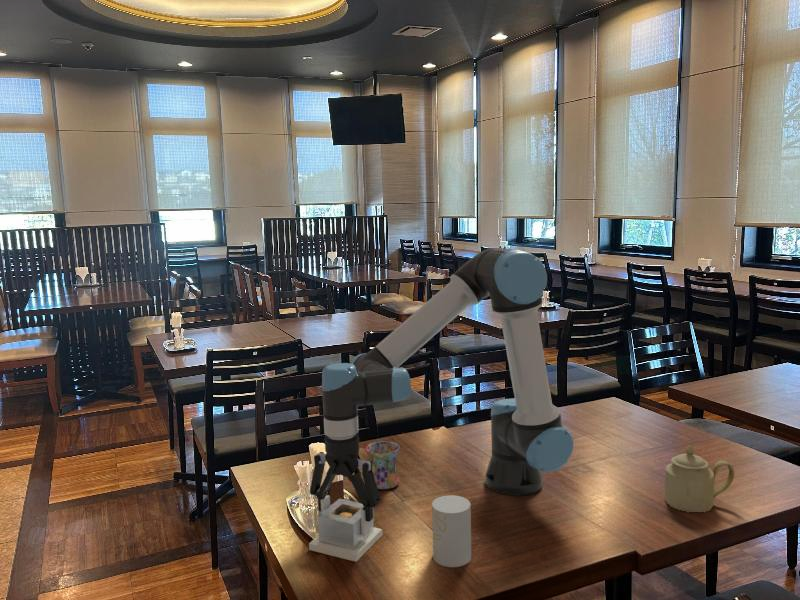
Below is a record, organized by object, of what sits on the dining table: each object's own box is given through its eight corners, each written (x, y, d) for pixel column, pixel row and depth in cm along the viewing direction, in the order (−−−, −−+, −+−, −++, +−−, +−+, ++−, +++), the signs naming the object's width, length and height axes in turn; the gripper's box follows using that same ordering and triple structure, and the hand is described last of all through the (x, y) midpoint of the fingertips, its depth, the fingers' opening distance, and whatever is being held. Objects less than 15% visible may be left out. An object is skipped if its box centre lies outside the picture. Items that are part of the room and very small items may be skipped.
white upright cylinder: (430, 547, 140) (429, 496, 138) (467, 545, 141) (466, 494, 139) (436, 568, 132) (434, 514, 130) (474, 565, 133) (473, 511, 131)
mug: (404, 489, 169) (403, 451, 168) (370, 494, 167) (369, 455, 166) (393, 471, 181) (392, 436, 179) (361, 476, 179) (360, 440, 177)
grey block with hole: (373, 530, 145) (373, 506, 144) (353, 550, 137) (353, 524, 136) (339, 522, 149) (339, 498, 148) (318, 540, 141) (318, 515, 140)
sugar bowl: (699, 487, 166) (701, 432, 163) (735, 505, 155) (738, 446, 153) (654, 498, 160) (656, 441, 158) (688, 517, 150) (690, 456, 148)
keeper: (382, 535, 146) (381, 508, 145) (356, 561, 135) (355, 533, 134) (337, 525, 151) (336, 499, 150) (309, 549, 141) (307, 522, 140)
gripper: (394, 435, 138) (397, 531, 141) (309, 422, 148) (313, 512, 151) (378, 447, 131) (382, 547, 135) (289, 433, 141) (295, 527, 145)
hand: (346, 529), depth 143 cm, fingers open, 10 cm apart
